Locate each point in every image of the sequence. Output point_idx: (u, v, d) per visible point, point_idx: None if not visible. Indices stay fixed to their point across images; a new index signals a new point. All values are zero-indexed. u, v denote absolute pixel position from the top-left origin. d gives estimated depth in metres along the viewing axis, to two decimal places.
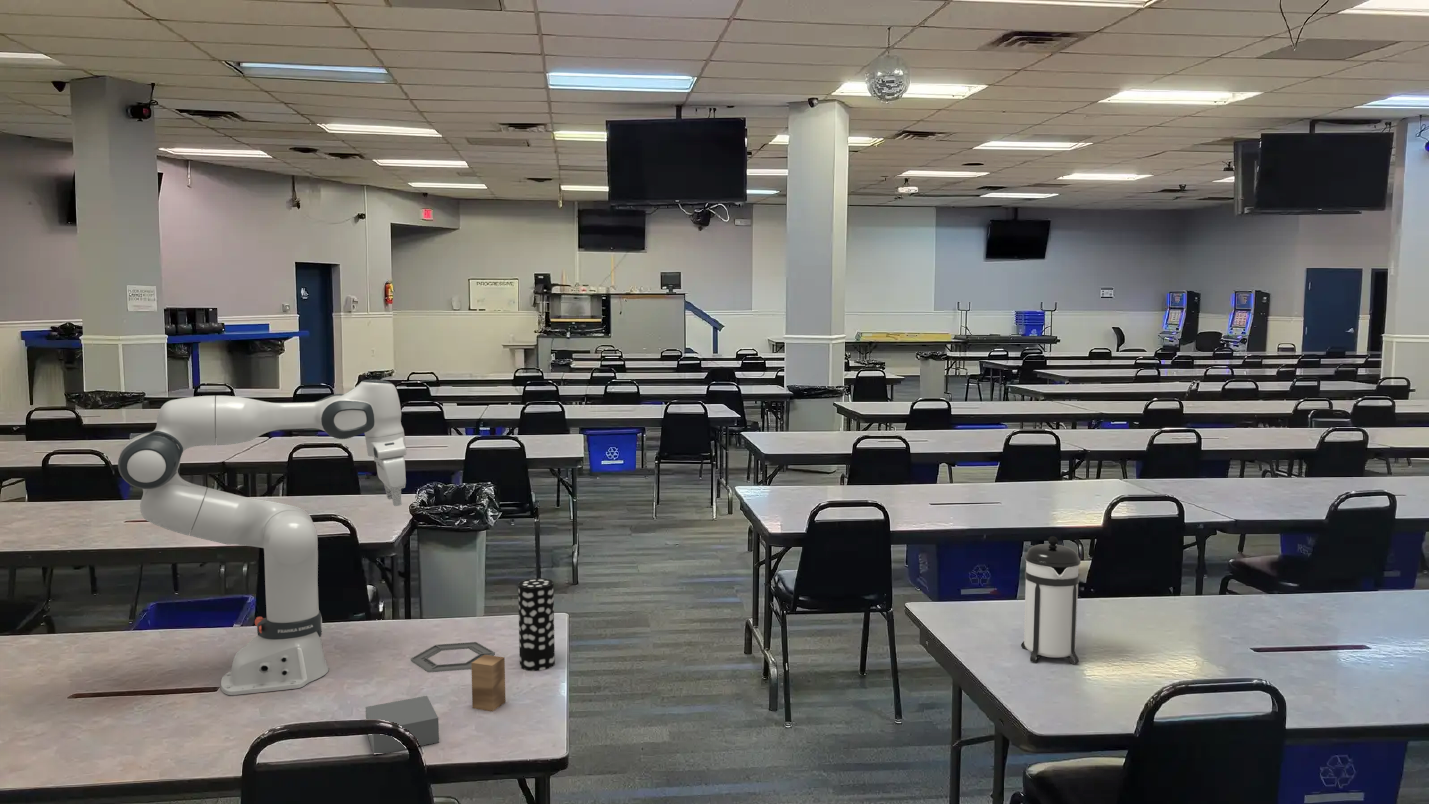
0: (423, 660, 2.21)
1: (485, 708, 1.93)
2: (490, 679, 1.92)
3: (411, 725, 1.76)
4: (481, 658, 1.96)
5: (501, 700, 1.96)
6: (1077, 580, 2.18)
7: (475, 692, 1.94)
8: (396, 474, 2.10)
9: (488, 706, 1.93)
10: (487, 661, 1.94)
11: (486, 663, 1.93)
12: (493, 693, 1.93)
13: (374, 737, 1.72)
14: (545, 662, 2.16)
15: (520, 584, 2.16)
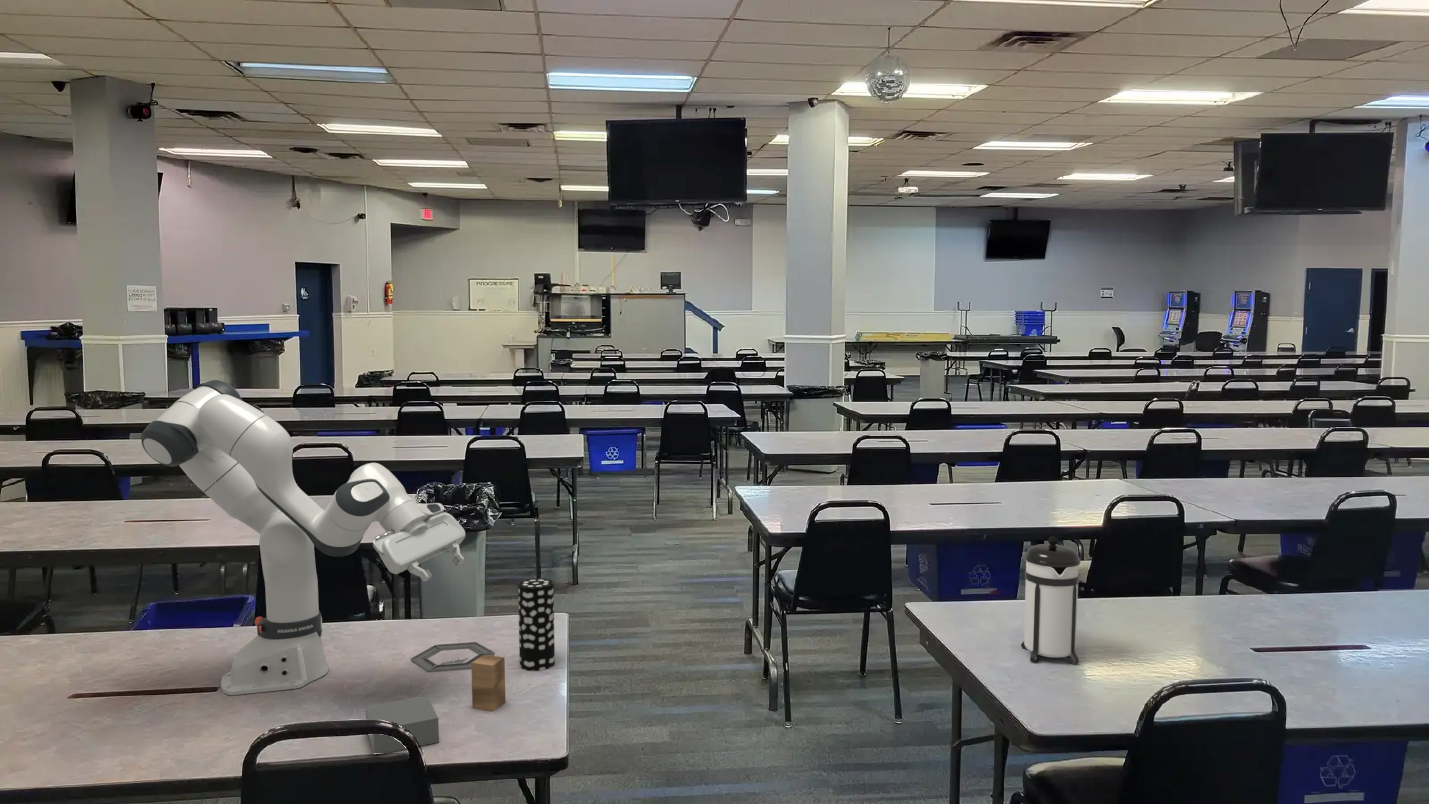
0: (423, 660, 2.21)
1: (485, 708, 1.93)
2: (490, 679, 1.92)
3: (411, 725, 1.76)
4: (481, 658, 1.96)
5: (501, 700, 1.96)
6: (1077, 580, 2.18)
7: (475, 692, 1.94)
8: None
9: (488, 706, 1.93)
10: (487, 661, 1.94)
11: (486, 663, 1.93)
12: (493, 693, 1.93)
13: (374, 737, 1.72)
14: (545, 662, 2.16)
15: (520, 584, 2.16)
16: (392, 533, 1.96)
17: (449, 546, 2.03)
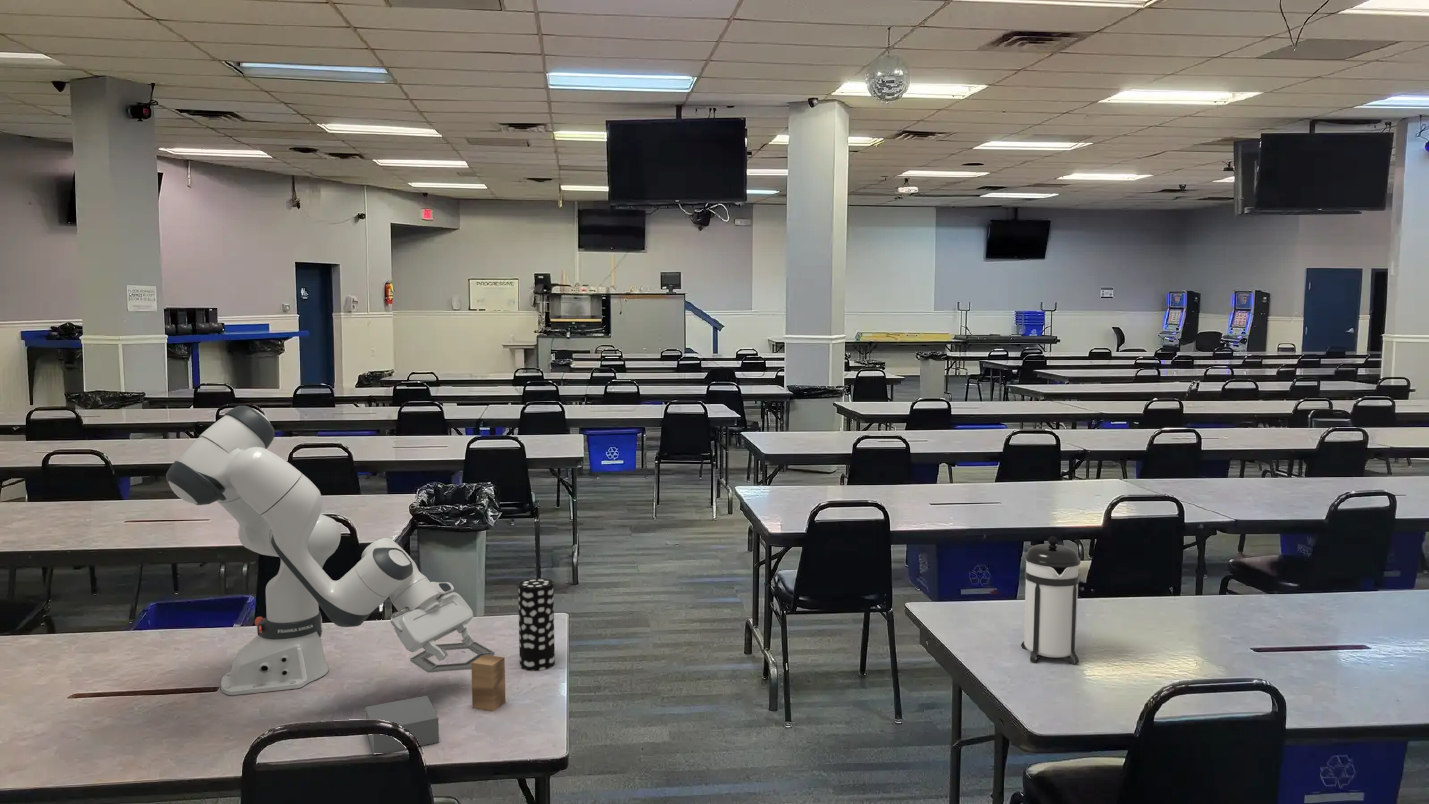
0: (423, 660, 2.21)
1: (485, 708, 1.93)
2: (490, 679, 1.92)
3: (411, 725, 1.76)
4: (481, 658, 1.96)
5: (501, 700, 1.96)
6: (1077, 580, 2.18)
7: (475, 692, 1.94)
8: None
9: (488, 706, 1.93)
10: (487, 661, 1.94)
11: (486, 663, 1.93)
12: (493, 693, 1.93)
13: (374, 737, 1.72)
14: (545, 662, 2.16)
15: (520, 584, 2.16)
16: (407, 610, 1.94)
17: (458, 626, 2.02)
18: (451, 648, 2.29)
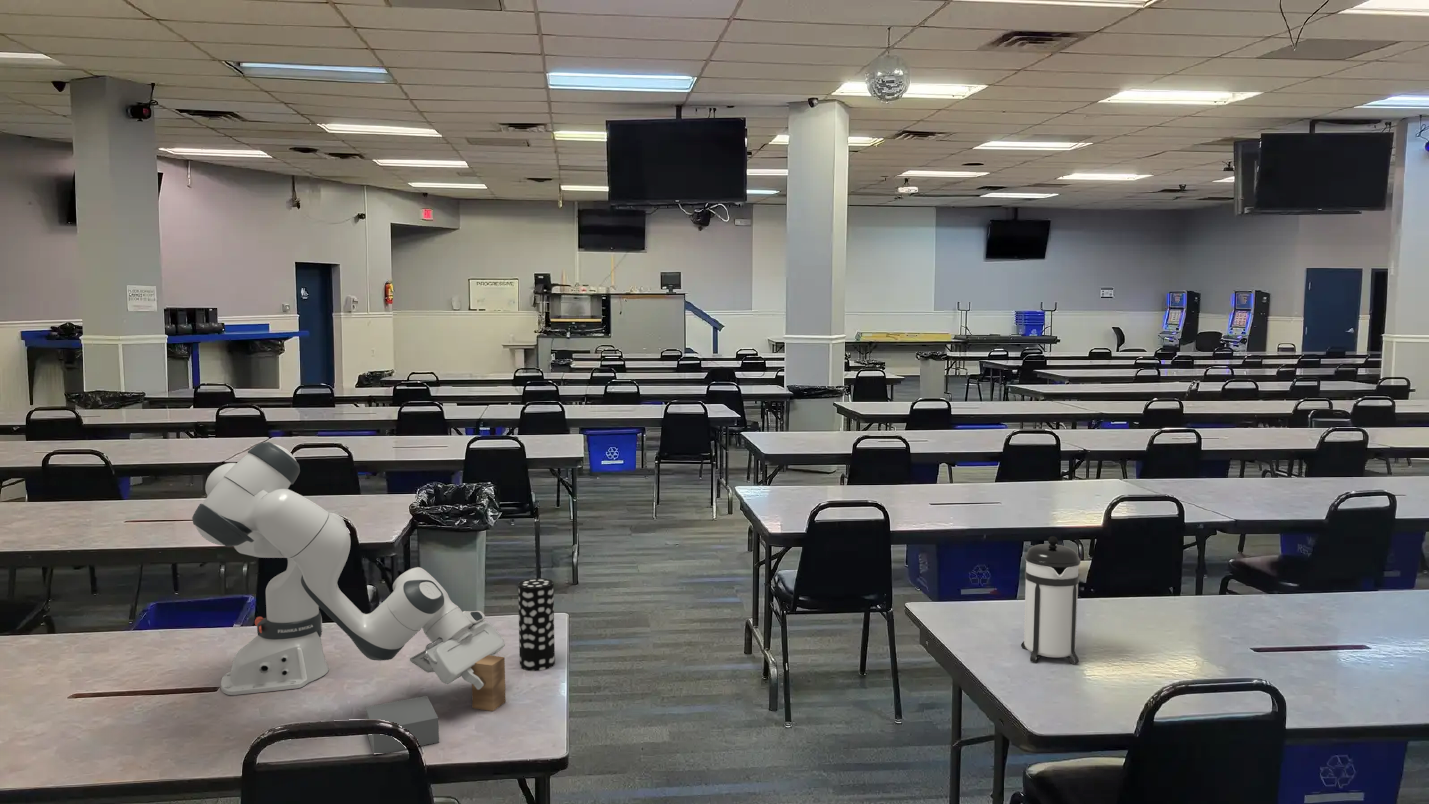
0: (422, 660, 2.21)
1: (485, 708, 1.93)
2: (490, 679, 1.92)
3: (411, 725, 1.76)
4: None
5: (501, 700, 1.96)
6: (1077, 580, 2.18)
7: (475, 692, 1.94)
8: None
9: (488, 706, 1.93)
10: (487, 661, 1.94)
11: (486, 663, 1.93)
12: (493, 693, 1.93)
13: (374, 737, 1.72)
14: (545, 662, 2.16)
15: (520, 584, 2.16)
16: (441, 641, 1.92)
17: None
18: None
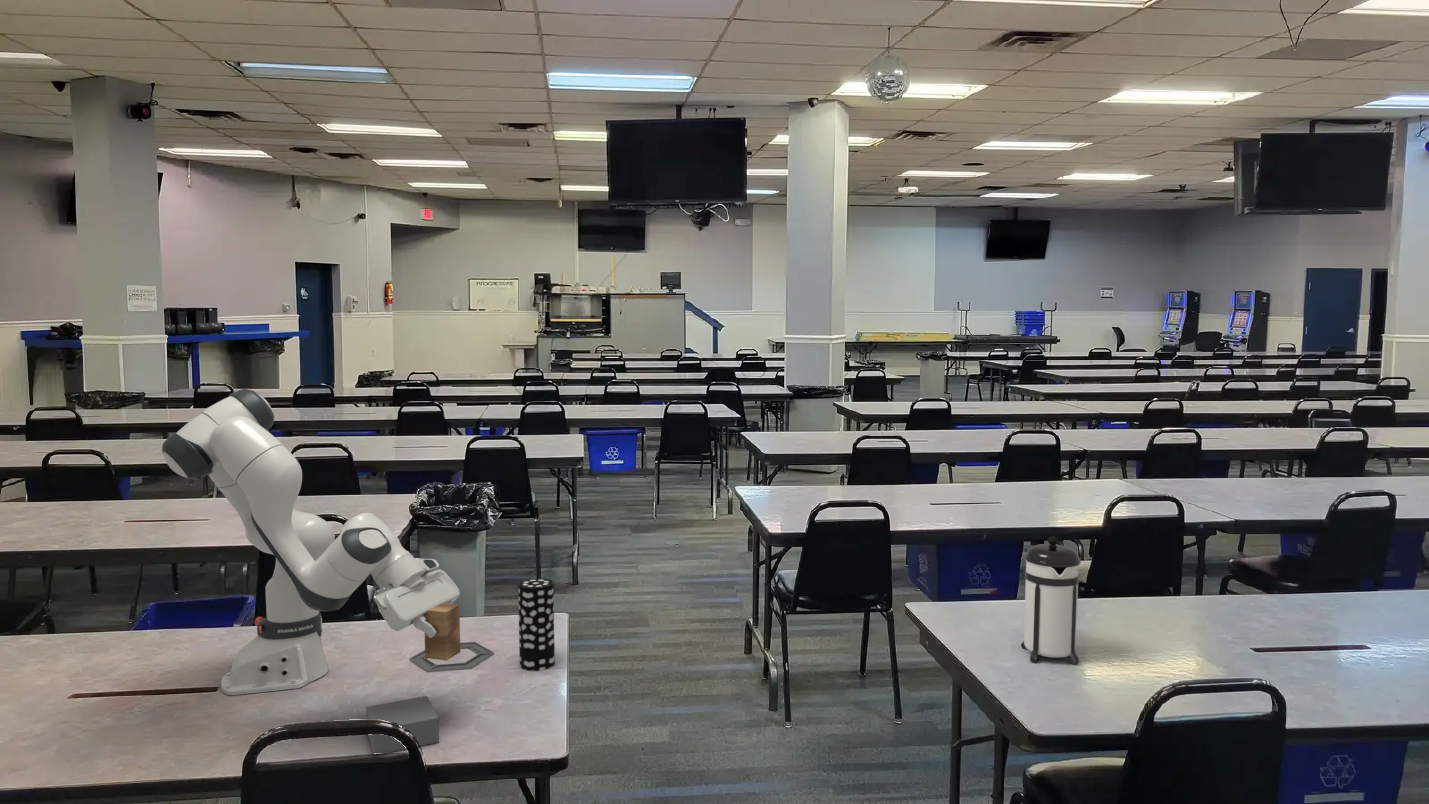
0: (422, 660, 2.21)
1: (438, 657, 1.84)
2: (443, 627, 1.83)
3: (411, 725, 1.76)
4: None
5: (455, 650, 1.87)
6: (1077, 580, 2.18)
7: (428, 641, 1.85)
8: None
9: (442, 655, 1.84)
10: (441, 608, 1.85)
11: (439, 610, 1.84)
12: (447, 642, 1.84)
13: (374, 737, 1.72)
14: (545, 662, 2.16)
15: (520, 584, 2.16)
16: (391, 588, 1.83)
17: None
18: None
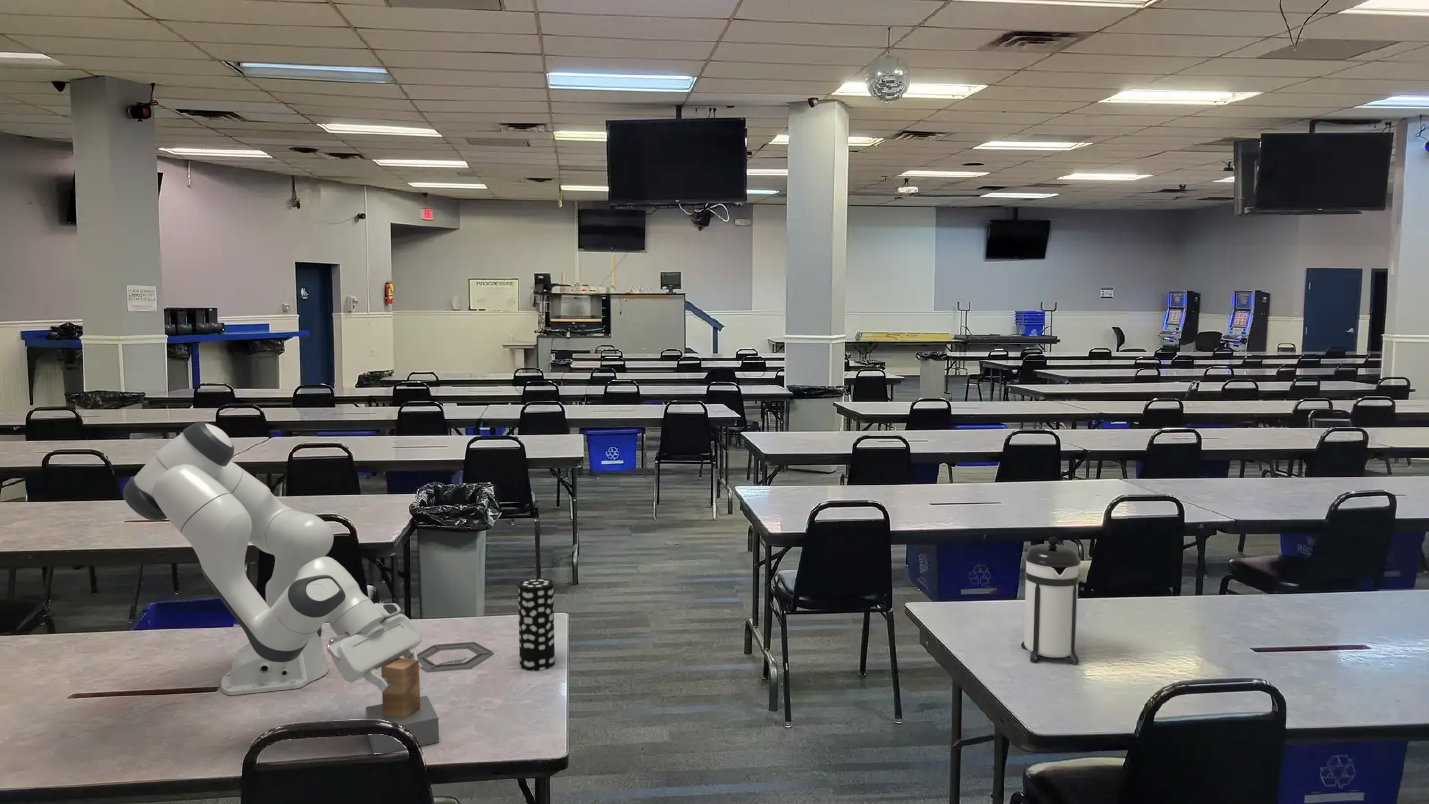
0: (422, 660, 2.21)
1: (396, 716, 1.78)
2: (400, 685, 1.77)
3: (411, 725, 1.76)
4: (393, 661, 1.81)
5: (414, 707, 1.80)
6: (1077, 580, 2.18)
7: (385, 698, 1.78)
8: None
9: (399, 713, 1.77)
10: (399, 665, 1.79)
11: (397, 667, 1.78)
12: (404, 700, 1.77)
13: (374, 737, 1.72)
14: (545, 662, 2.16)
15: (520, 584, 2.16)
16: (347, 636, 1.77)
17: (405, 652, 1.85)
18: (450, 648, 2.29)
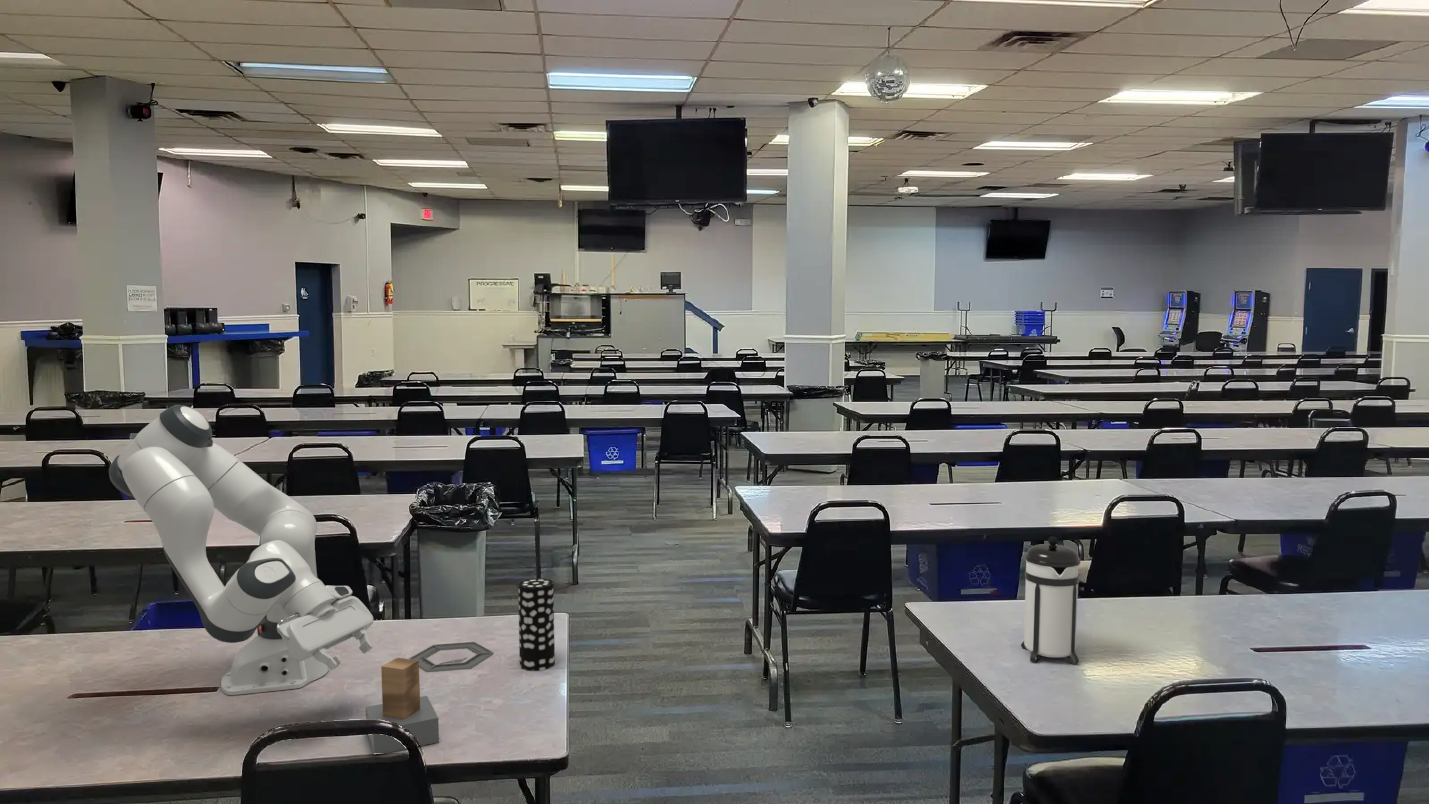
0: (421, 660, 2.21)
1: (396, 716, 1.78)
2: (400, 685, 1.77)
3: (411, 725, 1.76)
4: (393, 661, 1.81)
5: (414, 707, 1.80)
6: (1077, 580, 2.18)
7: (385, 698, 1.78)
8: None
9: (399, 713, 1.77)
10: (399, 665, 1.79)
11: (397, 667, 1.78)
12: (404, 700, 1.77)
13: (374, 737, 1.72)
14: (545, 662, 2.16)
15: (520, 584, 2.16)
16: (297, 616, 1.82)
17: (356, 632, 1.90)
18: (450, 648, 2.29)
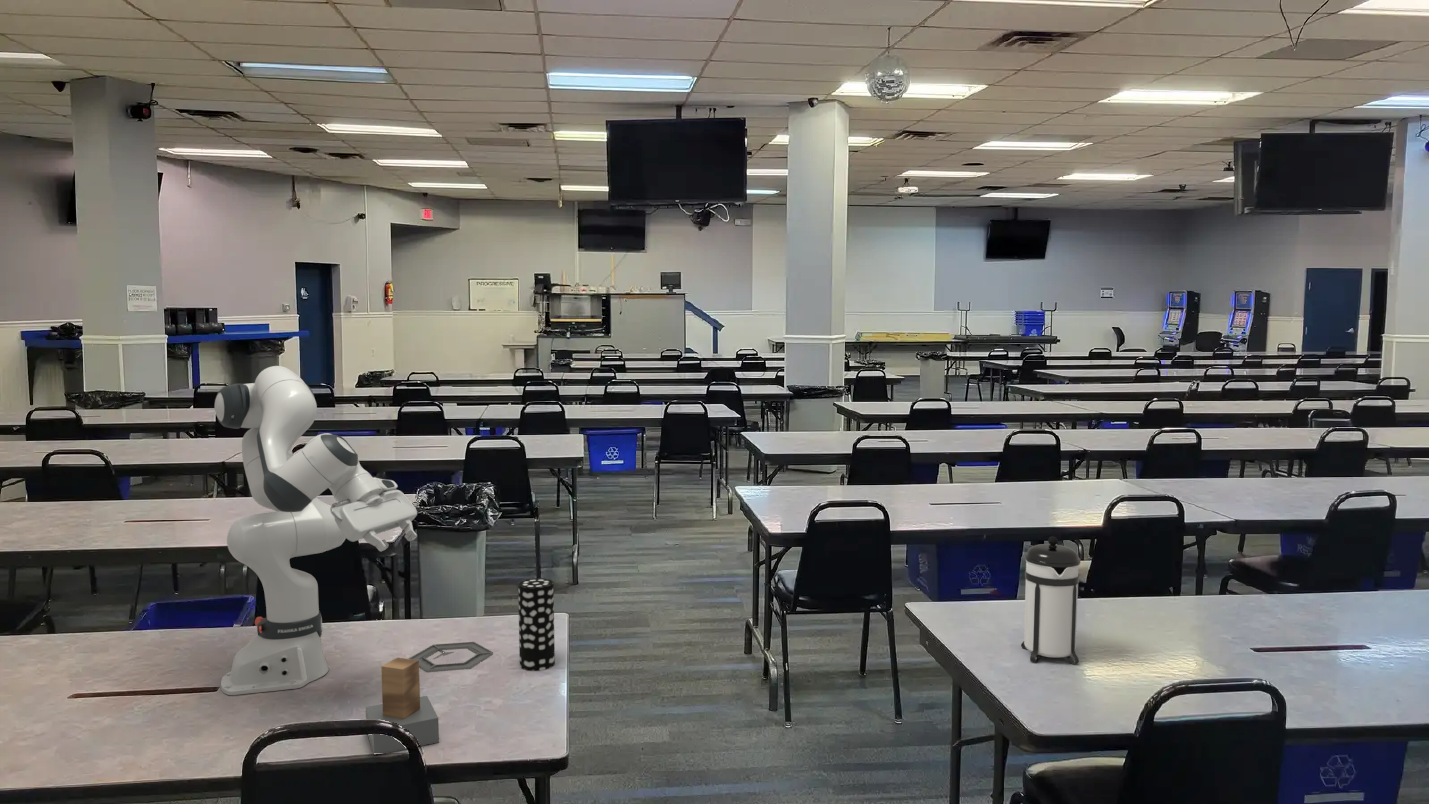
0: (421, 660, 2.21)
1: (396, 716, 1.78)
2: (400, 685, 1.77)
3: (411, 725, 1.76)
4: (393, 661, 1.81)
5: (414, 707, 1.80)
6: (1077, 580, 2.18)
7: (385, 698, 1.78)
8: None
9: (399, 713, 1.77)
10: (399, 665, 1.79)
11: (397, 667, 1.78)
12: (404, 700, 1.77)
13: (374, 737, 1.72)
14: (545, 662, 2.16)
15: (520, 584, 2.16)
16: (348, 502, 1.94)
17: (401, 522, 2.02)
18: (449, 648, 2.29)
